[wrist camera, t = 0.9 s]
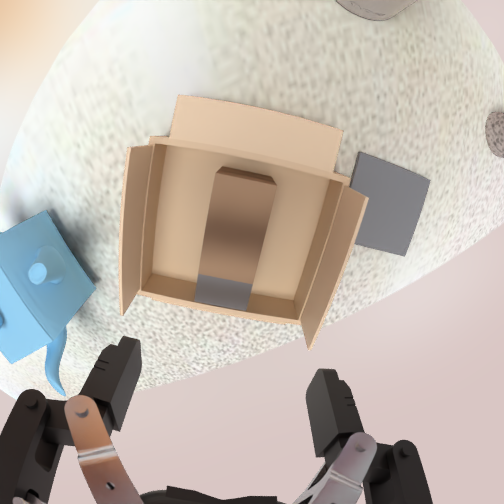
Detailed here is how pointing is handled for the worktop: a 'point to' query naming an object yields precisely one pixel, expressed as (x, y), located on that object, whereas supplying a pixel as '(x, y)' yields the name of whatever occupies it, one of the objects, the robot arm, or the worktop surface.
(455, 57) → the worktop surface
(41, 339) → the teakettle
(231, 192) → the bar
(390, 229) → the mat
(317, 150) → the carton
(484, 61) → the worktop surface
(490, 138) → the mug
